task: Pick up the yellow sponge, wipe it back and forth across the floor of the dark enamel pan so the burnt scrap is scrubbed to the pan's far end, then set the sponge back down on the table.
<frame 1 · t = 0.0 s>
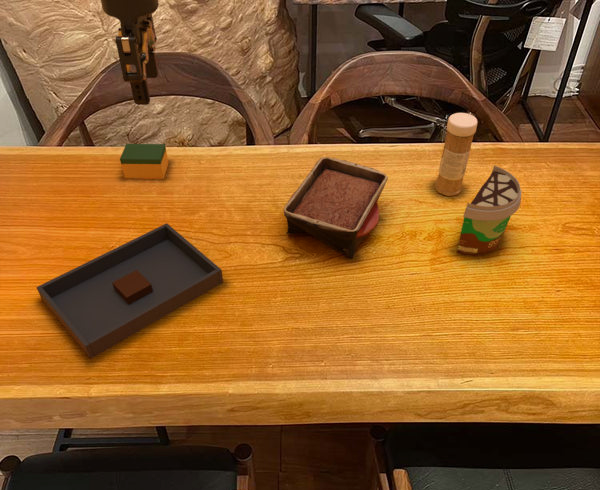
hand: (147, 89, 88), 18 cm above the table, tool pointing down, fingers open, 8 cm apart
pan: (134, 293, 84), on the table
burnt scrap: (133, 290, 84), point 1 cm above the table, touching pan
soil filled planter: (333, 227, 95), on the table
sponge: (147, 170, 106), on the table
food container: (485, 243, 92), on the table
sprinkles bottle: (447, 190, 102), on the table
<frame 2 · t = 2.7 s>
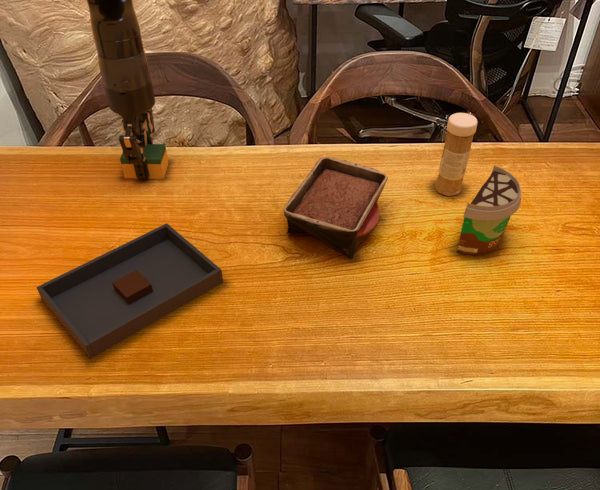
hand: (146, 168, 106), 0 cm above the table, tool pointing down, fingers closed on sponge, 5 cm apart
sponge: (147, 170, 106), on the table, touching gripper
everything else where it was.
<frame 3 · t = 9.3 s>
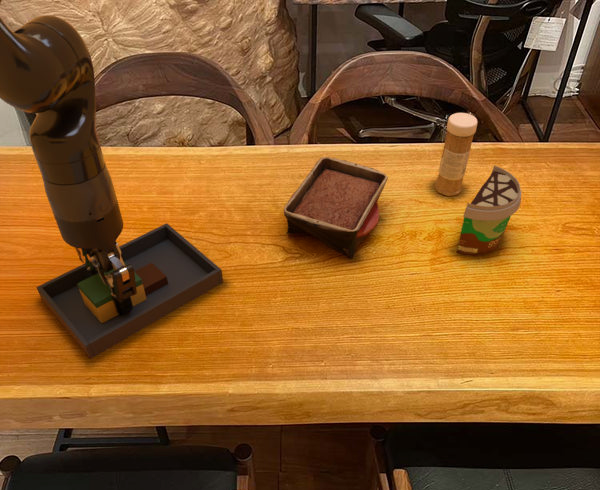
hand: (115, 299, 82), 1 cm above the table, tool pointing down, fingers closed on sponge, 5 cm apart
burnt scrap: (149, 283, 85), point 1 cm above the table, touching pan, sponge
sponge: (115, 301, 82), point 1 cm above the table, touching burnt scrap, gripper, pan
everything else where it was.
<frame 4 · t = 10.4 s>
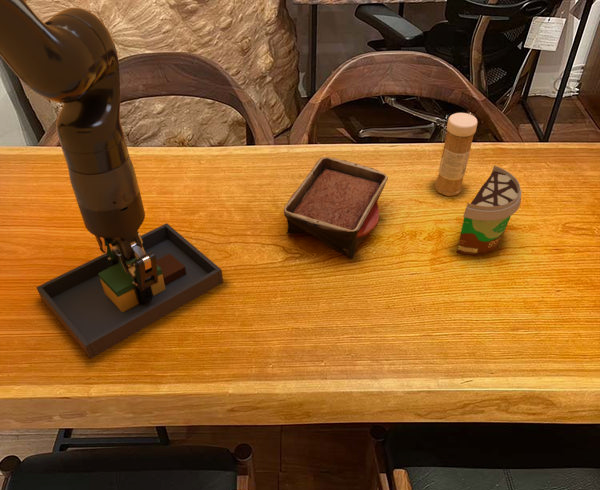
hand: (135, 289, 83), 1 cm above the table, tool pointing down, fingers closed on sponge, 5 cm apart
burnt scrap: (167, 273, 86), point 1 cm above the table, touching pan
sponge: (135, 291, 84), point 1 cm above the table, touching gripper, pan
everything else where it was.
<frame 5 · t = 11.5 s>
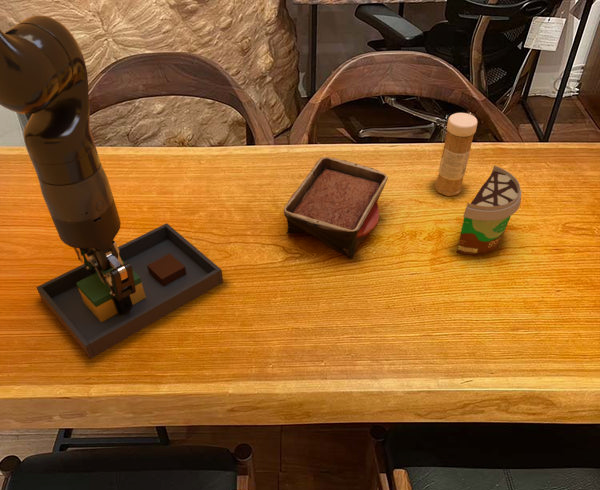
hand: (114, 298, 82), 1 cm above the table, tool pointing down, fingers closed on sponge, 5 cm apart
sponge: (115, 300, 82), point 1 cm above the table, touching gripper
everything else where it was.
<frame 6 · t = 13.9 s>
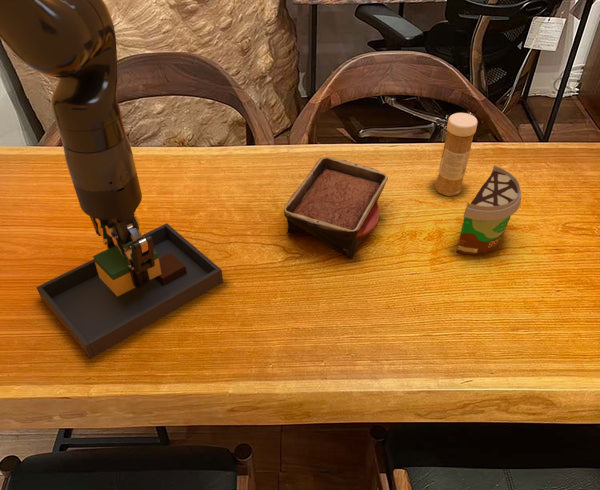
hand: (131, 273, 82), 4 cm above the table, tool pointing down, fingers closed on sponge, 5 cm apart
sponge: (130, 275, 82), point 3 cm above the table, touching gripper
everything else where it was.
when the fingers open (0 cm above the table, at t = 20.4 s): sponge stays where it is, on the table.
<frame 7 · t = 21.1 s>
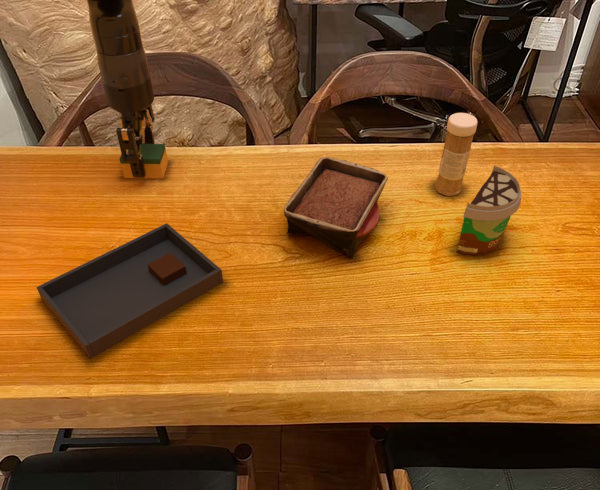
hand: (144, 162, 105), 2 cm above the table, tool pointing down, fingers open, 8 cm apart
sponge: (146, 170, 106), on the table
everything else where it was.
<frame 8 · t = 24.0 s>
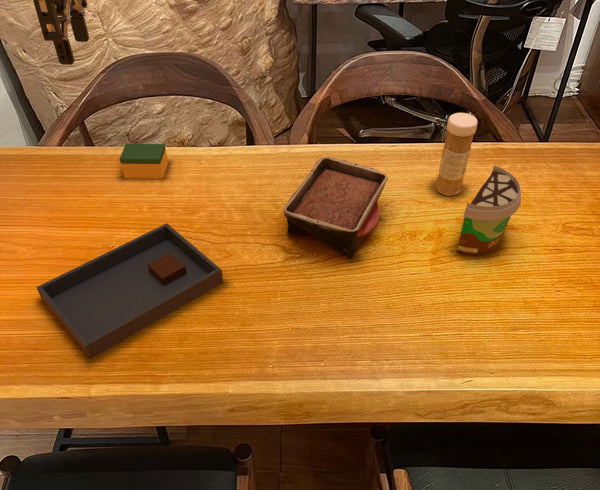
hand: (75, 52, 94), 20 cm above the table, tool pointing down, fingers open, 8 cm apart
nothing on the table moved.
at the end: burnt scrap inside the target area in the pan (1.6 cm from its centre), point 0.6 cm above the pan's base; sponge inside the target area (0.1 cm from its centre), on the table; the gripper is holding nothing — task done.
